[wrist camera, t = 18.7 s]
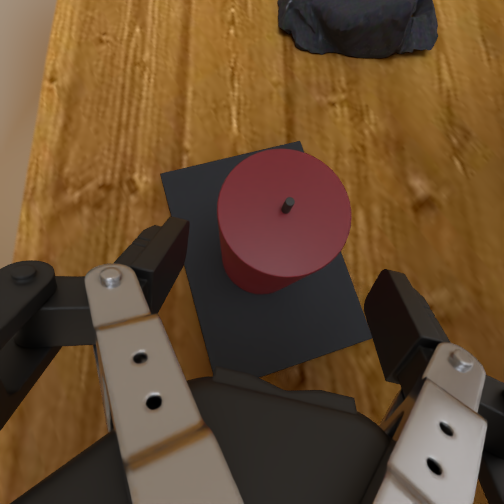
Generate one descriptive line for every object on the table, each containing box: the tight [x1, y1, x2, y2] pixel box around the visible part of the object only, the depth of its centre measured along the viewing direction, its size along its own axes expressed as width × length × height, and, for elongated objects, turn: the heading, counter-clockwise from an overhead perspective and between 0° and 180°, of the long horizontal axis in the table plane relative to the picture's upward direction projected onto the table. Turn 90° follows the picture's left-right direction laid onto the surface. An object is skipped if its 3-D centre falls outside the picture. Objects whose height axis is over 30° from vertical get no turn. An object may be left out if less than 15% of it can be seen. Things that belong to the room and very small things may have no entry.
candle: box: [217, 149, 351, 294], centre depth 17 cm, size 6×6×11 cm
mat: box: [160, 141, 372, 378], centre depth 23 cm, size 12×17×1 cm
